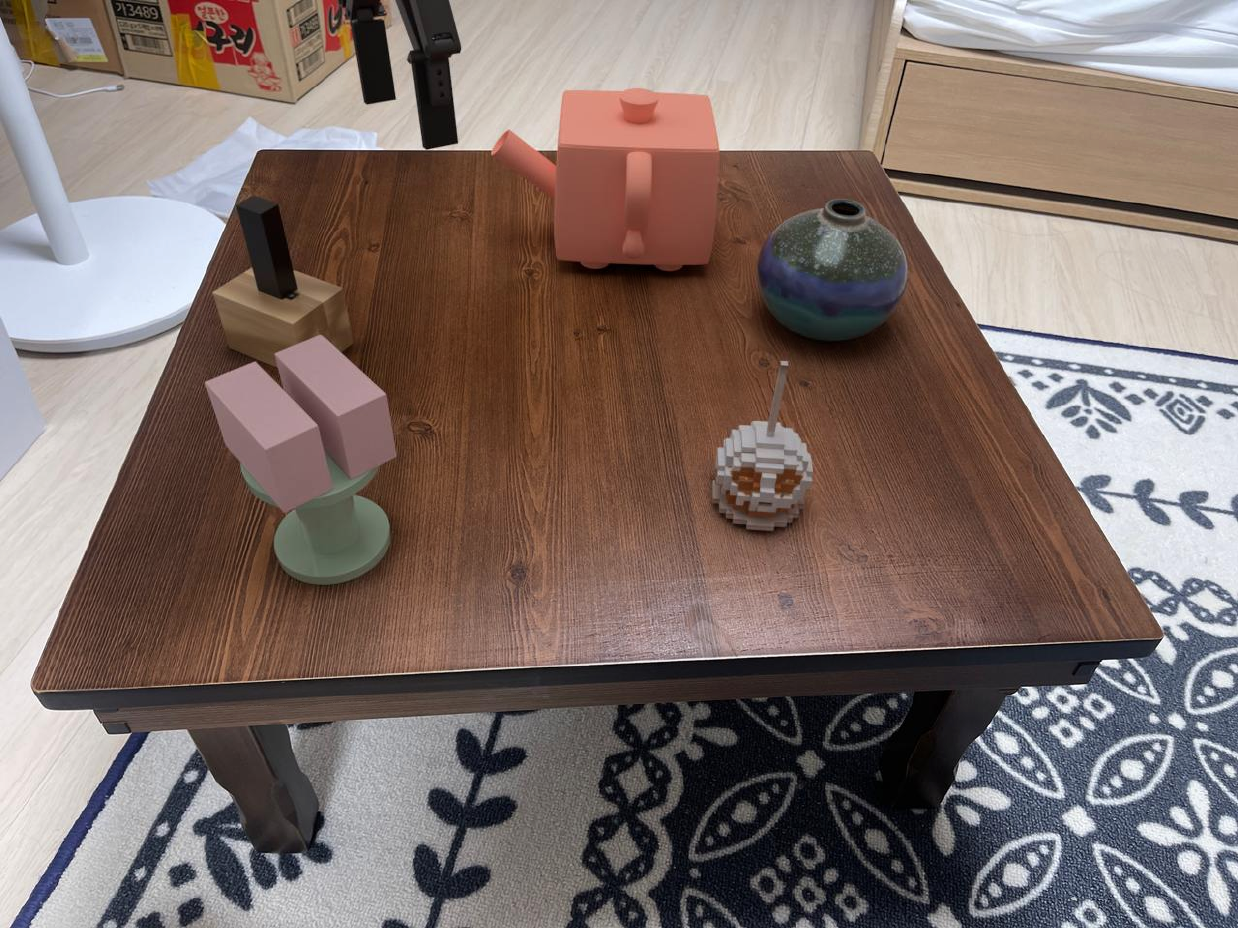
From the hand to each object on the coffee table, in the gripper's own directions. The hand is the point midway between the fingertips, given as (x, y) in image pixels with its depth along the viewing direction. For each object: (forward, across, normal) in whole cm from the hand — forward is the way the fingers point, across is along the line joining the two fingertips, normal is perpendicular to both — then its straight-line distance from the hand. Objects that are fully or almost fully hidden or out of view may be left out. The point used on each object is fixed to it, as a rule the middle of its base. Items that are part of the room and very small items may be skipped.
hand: (408, 122), depth 78 cm
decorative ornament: (+27, -30, -16) cm, 44 cm away
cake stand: (+26, -17, +17) cm, 35 cm away
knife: (+23, +10, +12) cm, 28 cm away
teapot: (+22, +13, -26) cm, 37 cm away
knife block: (+23, +10, +12) cm, 28 cm away
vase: (+25, -12, -39) cm, 48 cm away
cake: (+16, -18, +17) cm, 30 cm away
